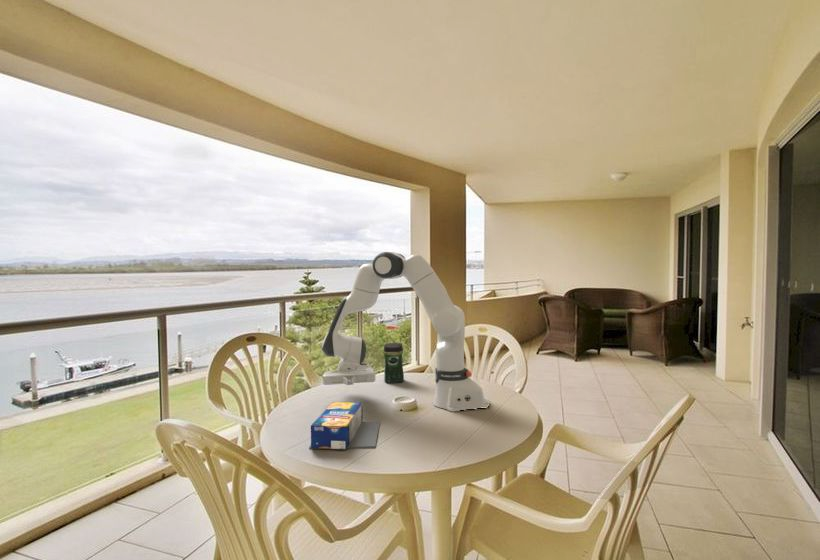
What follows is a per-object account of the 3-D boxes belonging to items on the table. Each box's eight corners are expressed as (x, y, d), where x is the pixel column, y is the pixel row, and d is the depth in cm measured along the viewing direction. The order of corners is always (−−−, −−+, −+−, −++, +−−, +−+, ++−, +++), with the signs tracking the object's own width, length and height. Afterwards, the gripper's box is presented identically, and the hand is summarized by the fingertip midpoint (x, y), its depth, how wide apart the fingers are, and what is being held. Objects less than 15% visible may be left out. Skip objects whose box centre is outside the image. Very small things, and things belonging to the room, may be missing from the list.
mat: (379, 422, 135) (379, 421, 135) (375, 447, 116) (375, 446, 116) (323, 423, 135) (323, 422, 135) (309, 448, 116) (309, 447, 116)
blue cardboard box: (363, 421, 136) (346, 449, 114) (333, 421, 137) (310, 448, 115) (362, 402, 136) (346, 426, 114) (332, 402, 137) (310, 425, 115)
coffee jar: (404, 378, 190) (403, 341, 189) (403, 383, 182) (403, 344, 181) (384, 378, 190) (383, 341, 189) (383, 383, 182) (382, 344, 181)
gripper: (322, 366, 154) (321, 375, 140) (373, 363, 158) (376, 372, 144) (322, 382, 154) (321, 393, 141) (373, 379, 158) (376, 389, 144)
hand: (349, 382), depth 142 cm, fingers closed
